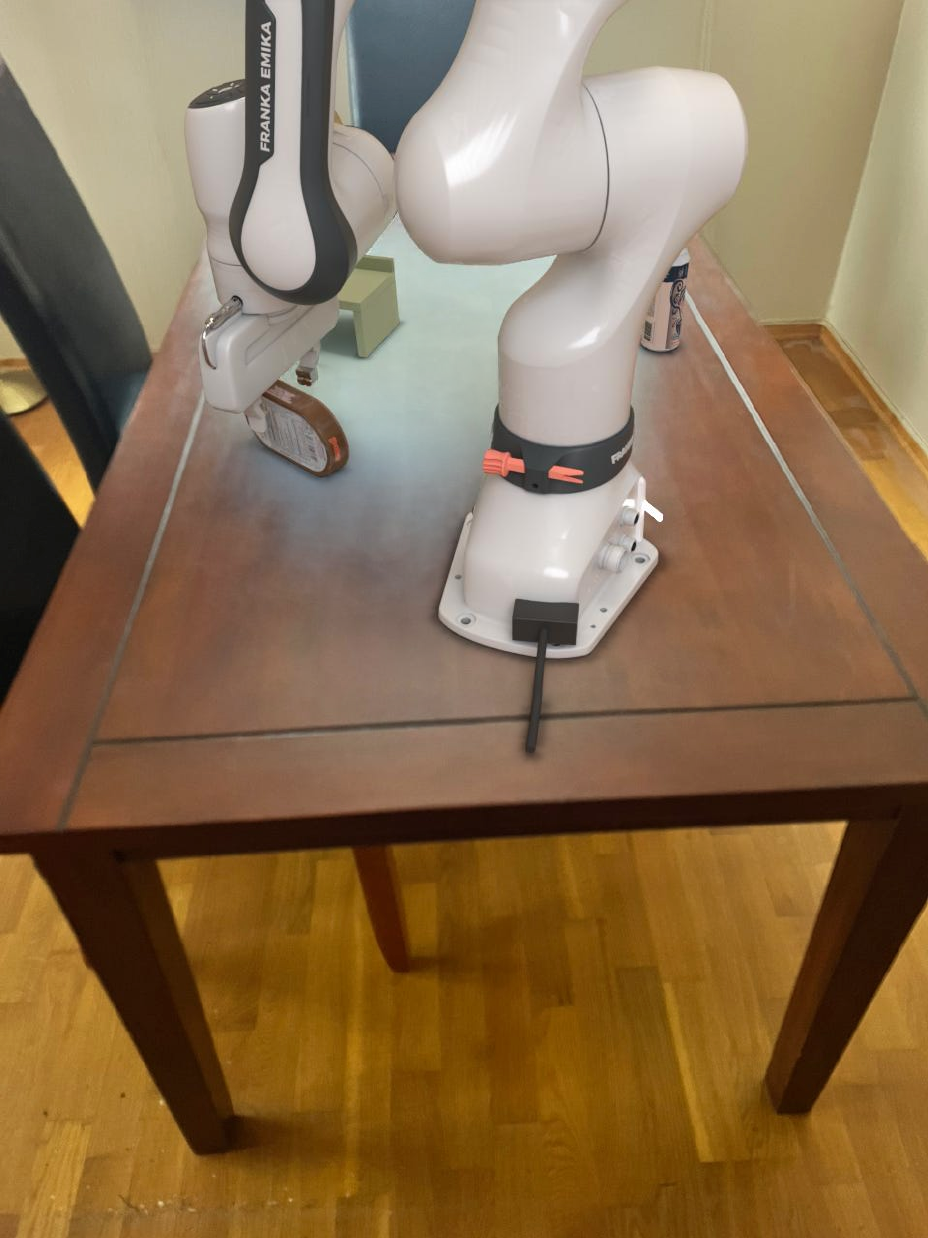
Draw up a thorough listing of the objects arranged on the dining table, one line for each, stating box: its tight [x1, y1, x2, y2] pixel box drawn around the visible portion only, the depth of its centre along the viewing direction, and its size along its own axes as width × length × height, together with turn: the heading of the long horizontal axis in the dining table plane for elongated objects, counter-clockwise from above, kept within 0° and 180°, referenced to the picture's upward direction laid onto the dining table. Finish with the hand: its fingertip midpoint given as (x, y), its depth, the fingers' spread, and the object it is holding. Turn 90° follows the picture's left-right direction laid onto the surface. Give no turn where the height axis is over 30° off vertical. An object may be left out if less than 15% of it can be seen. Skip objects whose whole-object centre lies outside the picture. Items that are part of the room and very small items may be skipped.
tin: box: [244, 378, 350, 477], centre depth 97 cm, size 15×3×8 cm, turn 47°
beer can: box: [640, 246, 691, 353], centre depth 112 cm, size 5×5×12 cm
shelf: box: [338, 254, 400, 359], centre depth 120 cm, size 10×20×9 cm, turn 68°
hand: (285, 404), depth 97 cm, fingers open, 8 cm apart
